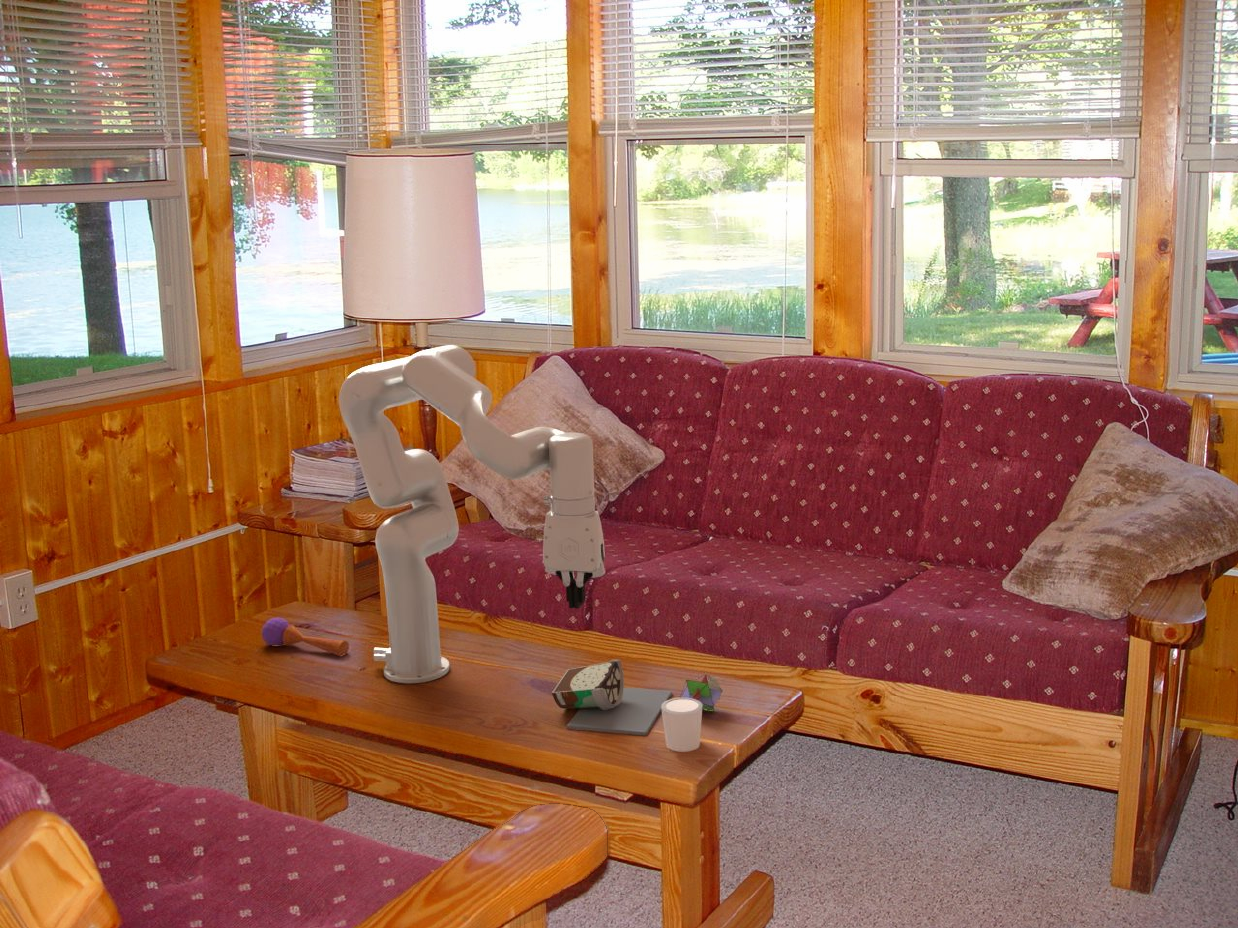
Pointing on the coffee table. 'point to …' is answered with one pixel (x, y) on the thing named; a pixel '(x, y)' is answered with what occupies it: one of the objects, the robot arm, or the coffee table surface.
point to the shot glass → (682, 723)
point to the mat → (624, 713)
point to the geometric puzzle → (703, 692)
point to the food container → (591, 686)
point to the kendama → (298, 637)
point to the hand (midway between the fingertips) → (576, 605)
